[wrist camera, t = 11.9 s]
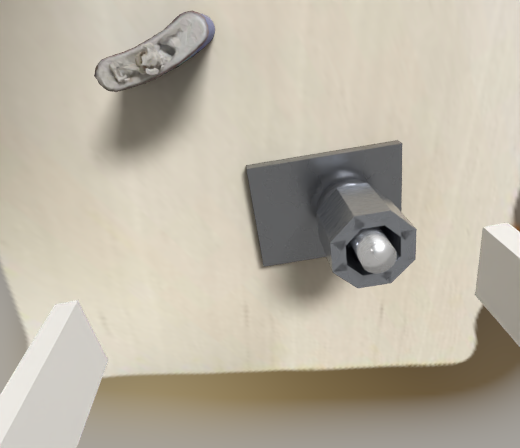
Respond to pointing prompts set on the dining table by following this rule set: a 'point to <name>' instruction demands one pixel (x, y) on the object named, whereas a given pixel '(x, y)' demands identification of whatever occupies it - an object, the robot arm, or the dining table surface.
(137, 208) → the dining table surface
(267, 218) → the shaft fixture
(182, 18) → the flask
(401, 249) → the tube
